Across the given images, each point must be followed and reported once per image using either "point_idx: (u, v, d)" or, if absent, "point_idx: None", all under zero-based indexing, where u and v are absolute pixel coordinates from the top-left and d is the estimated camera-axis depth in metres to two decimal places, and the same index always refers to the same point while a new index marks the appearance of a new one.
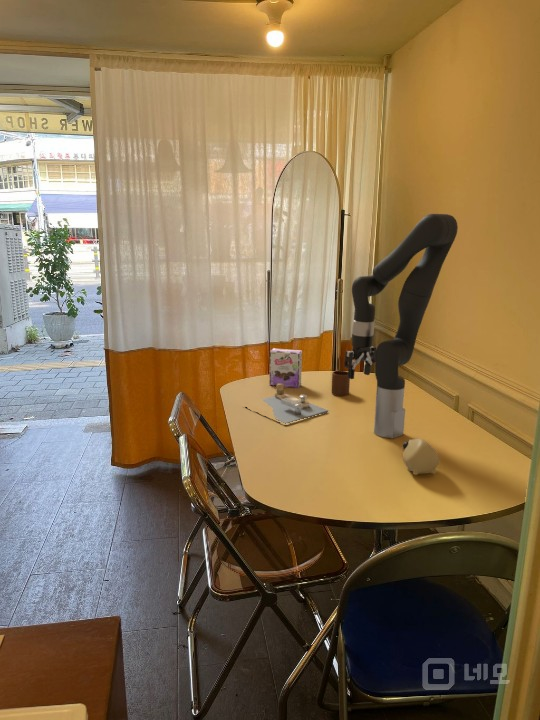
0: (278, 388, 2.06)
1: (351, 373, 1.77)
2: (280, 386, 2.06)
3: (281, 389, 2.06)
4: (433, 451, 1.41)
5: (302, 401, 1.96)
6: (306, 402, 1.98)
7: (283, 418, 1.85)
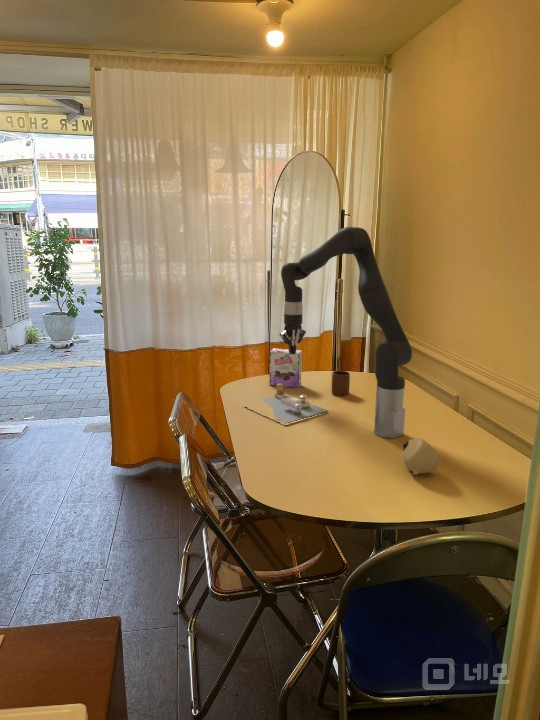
0: (278, 388, 2.06)
1: (291, 349, 2.06)
2: (280, 386, 2.06)
3: (281, 389, 2.06)
4: (433, 451, 1.41)
5: (302, 401, 1.96)
6: (306, 402, 1.98)
7: (283, 418, 1.85)
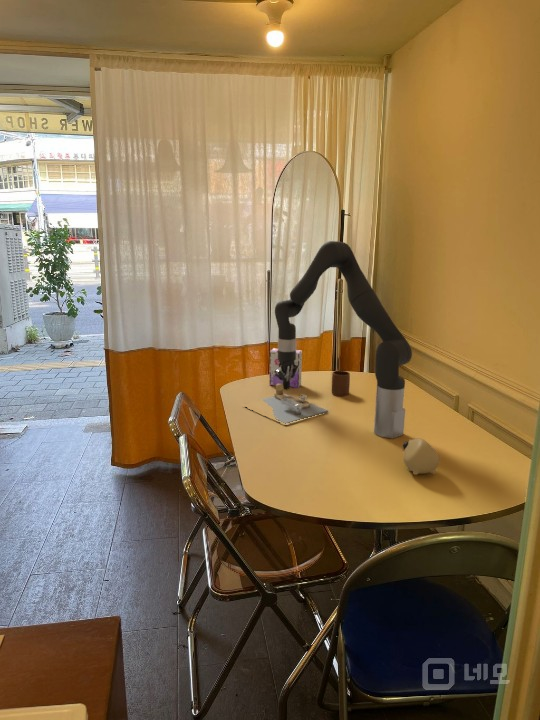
0: (278, 388, 2.06)
1: (286, 384, 2.08)
2: (279, 386, 2.05)
3: (281, 389, 2.06)
4: (433, 451, 1.41)
5: (302, 401, 1.96)
6: (306, 402, 1.98)
7: (283, 418, 1.85)
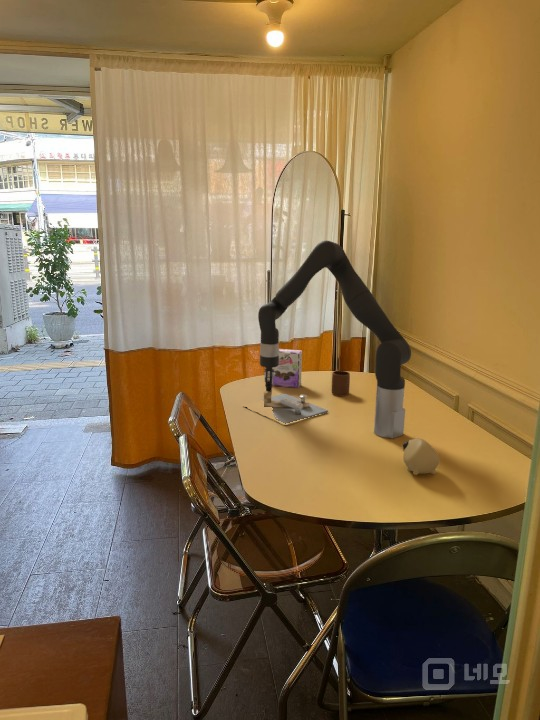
0: (268, 396, 1.96)
1: (270, 391, 1.99)
2: (270, 394, 1.96)
3: None
4: (433, 451, 1.41)
5: (302, 401, 1.96)
6: None
7: (283, 418, 1.85)
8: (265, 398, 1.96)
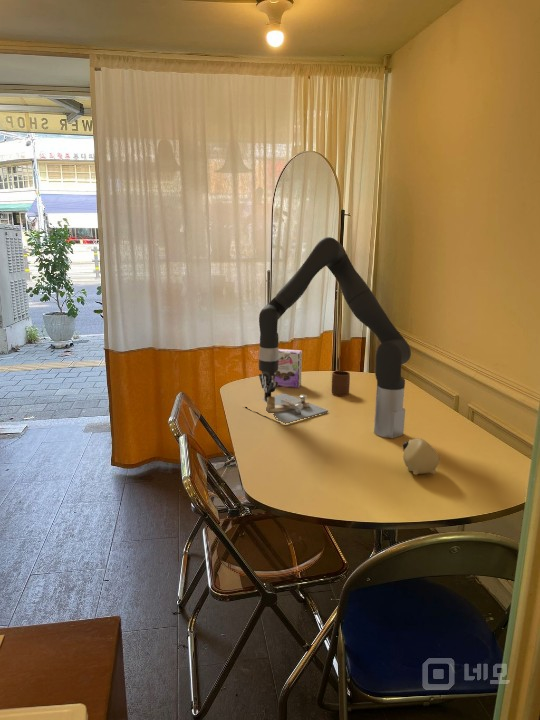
0: (273, 401, 1.90)
1: None
2: (274, 399, 1.90)
3: (274, 401, 1.91)
4: (433, 451, 1.41)
5: (302, 401, 1.96)
6: None
7: (283, 418, 1.85)
8: (270, 404, 1.90)
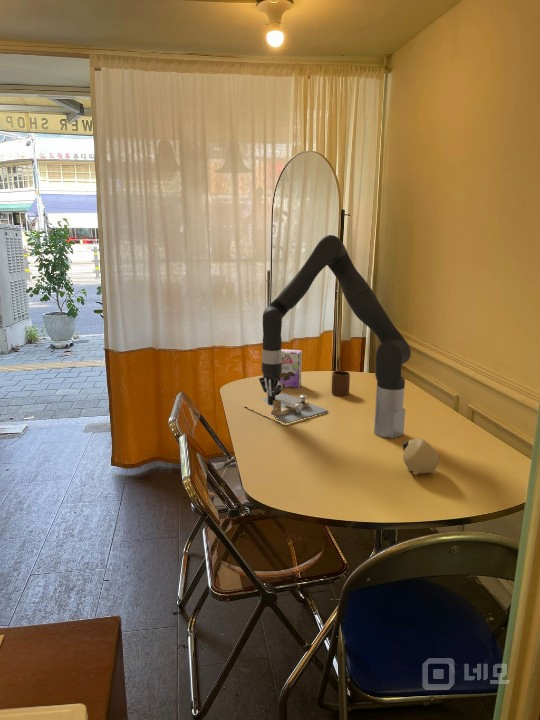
0: (280, 404, 1.87)
1: None
2: None
3: None
4: (433, 451, 1.41)
5: (302, 401, 1.96)
6: None
7: (283, 418, 1.85)
8: (277, 407, 1.86)
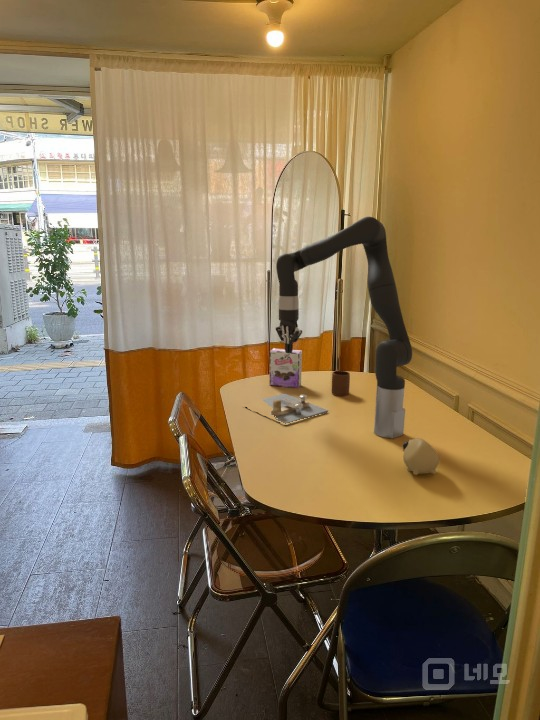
0: (280, 404, 1.87)
1: None
2: None
3: None
4: (433, 451, 1.41)
5: (302, 401, 1.96)
6: None
7: (283, 418, 1.85)
8: (277, 407, 1.86)
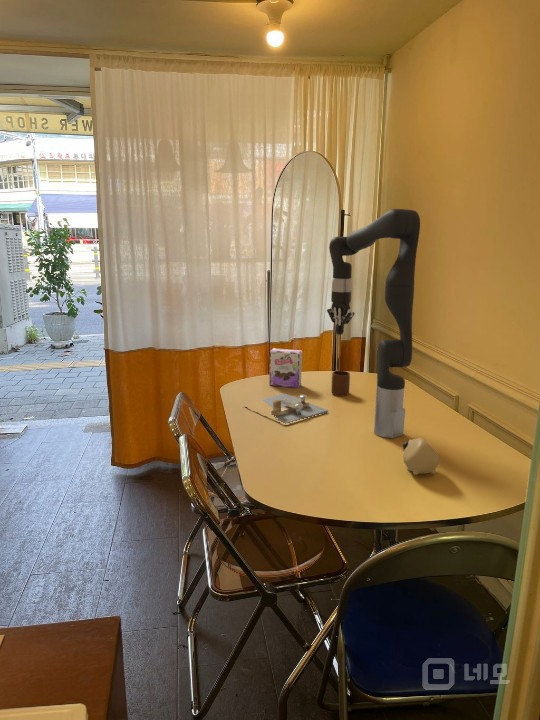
0: (280, 404, 1.87)
1: None
2: None
3: None
4: (433, 451, 1.41)
5: (302, 401, 1.96)
6: None
7: (283, 418, 1.85)
8: (277, 407, 1.86)
